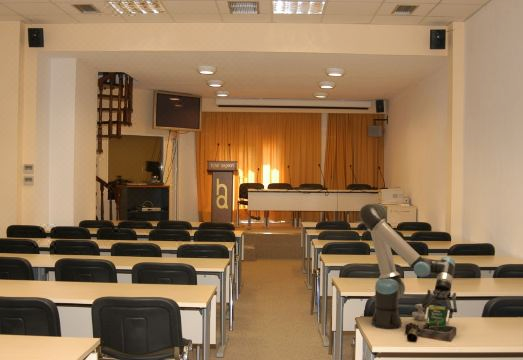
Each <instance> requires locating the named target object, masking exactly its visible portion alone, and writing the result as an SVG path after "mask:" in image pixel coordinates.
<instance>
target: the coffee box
mask: <svg viewBox="0 0 523 360" xmlns="http://www.w3.org/2000/svg"><path fill="white" fill-rule="evenodd" d="M446 319H447V307H446V306H443V305H441V306H440V305H434V304H433V305H429V317H428V323H429V330H433V331H440V332H446V326H447V323H446Z"/></svg>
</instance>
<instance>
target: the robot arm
mask: <svg viewBox="0 0 523 360" xmlns="http://www.w3.org/2000/svg"><path fill="white" fill-rule="evenodd" d="M358 215H359V217H358V218H359V219H360V221H361V222H362V224H363V225H364V226H365V227H366V230H367V231H368V232H370V235H371V239H372V240H371V241H372V244H373V248H374V253H375V257H376V260H377V264H378V269H379V273H380V275H379V277H378V280H377V281H376V282H375V286H374V288H375V289H374V291H375V295H374V296H375V297H374V298H375V300H374V301H375V302H374V303H375V305H374V306H375V309H374V312H373V316H372V318H371V325H372V326H374V327H376V328H379V329H387V330H390V329H391V330H395V329H400V328H402V320H401V316H400V314H399V300H400V299H401V298H402V297H403V296H404V294H405V292H406V286H405V282H403V280H402V278H401V273H399V272H398V271H397V270H396V264H395V261H394V256H393V253H392V250H393V251H394V252H395V253H396V254H397V255H398V256H399V257H400V258H401V259H402V260H403V261H404V262H405V263H406V264H407V265H408V266H409V267H411V269H412V270H413V272H414V274H415V275H416V276H418V277H419V278H425V277H428V276H429V275H430V274H432V275H437V277H436V281H435V287H434V290H430V289H427V293H426V295H425V297H424V299H423V301H422V303H421V304H422V307H423V308H425V309H423V312H424V314H425V320H424V321H425V323H428V322H429V317H428V316H429V305H434V304H435V303H436V302H437V301H445V303H446V305H447V307H448V309H447V312H446V326H450V325H449V323H450V319H452V318H453V313H455V314H456V313H457V312H458V308H457V293H456V292H451V290H452V284H453V280H454V274H455V268H456V261H455V260H454V259H453V258H452V257H449V256H443V257H440V260H439V259H432V258H425V257H422V256H421V255H420V254H419V253H418V252H417V251H416V250H415V249H414V248H413V247H412V246H411V245H410V244H409V243H407V241H405V239H404V238H403V237H401V235H400V234H398V233H397V232H396V231H395V230H394V229H393V228H392V227H391V226H390V225H389V224H388V221H387V217H388V216H387V215H388V214H387V211H386V208H385V207H384V206H383V205H381V204H379V203H368V204H365V205H363V206H362V207H361V208H360V210H359V213H358ZM432 295H433V296H432ZM450 297H451V298H452V304H453V307H452V305H451V303H450V300H449V298H450Z"/></svg>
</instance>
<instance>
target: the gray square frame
mask: <svg viewBox="0 0 523 360" xmlns="http://www.w3.org/2000/svg"><path fill="white" fill-rule="evenodd" d="M418 335H419V336H418V337H420V338H426V339H432V340H436V341H437V340H438V341H444V342H449V343H450V342H452V341H453V339H454V338H455V337H456V336H457V326H452V325H451V326H450V325H446V332H440V331H433V330H429V322H425V324H423V325H422V326H420V327H419V334H418Z"/></svg>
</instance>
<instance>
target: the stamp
mask: <svg viewBox="0 0 523 360" xmlns="http://www.w3.org/2000/svg"><path fill="white" fill-rule="evenodd" d="M415 309H416V310H417V311H413V312H412V313H411V315H412V317H413V318H415V320H417V319H418V320H417V321H419V320H422V321H425V314H424V310H425V308H423V307H422V303H418V304H415ZM428 318H429V316H428Z"/></svg>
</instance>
